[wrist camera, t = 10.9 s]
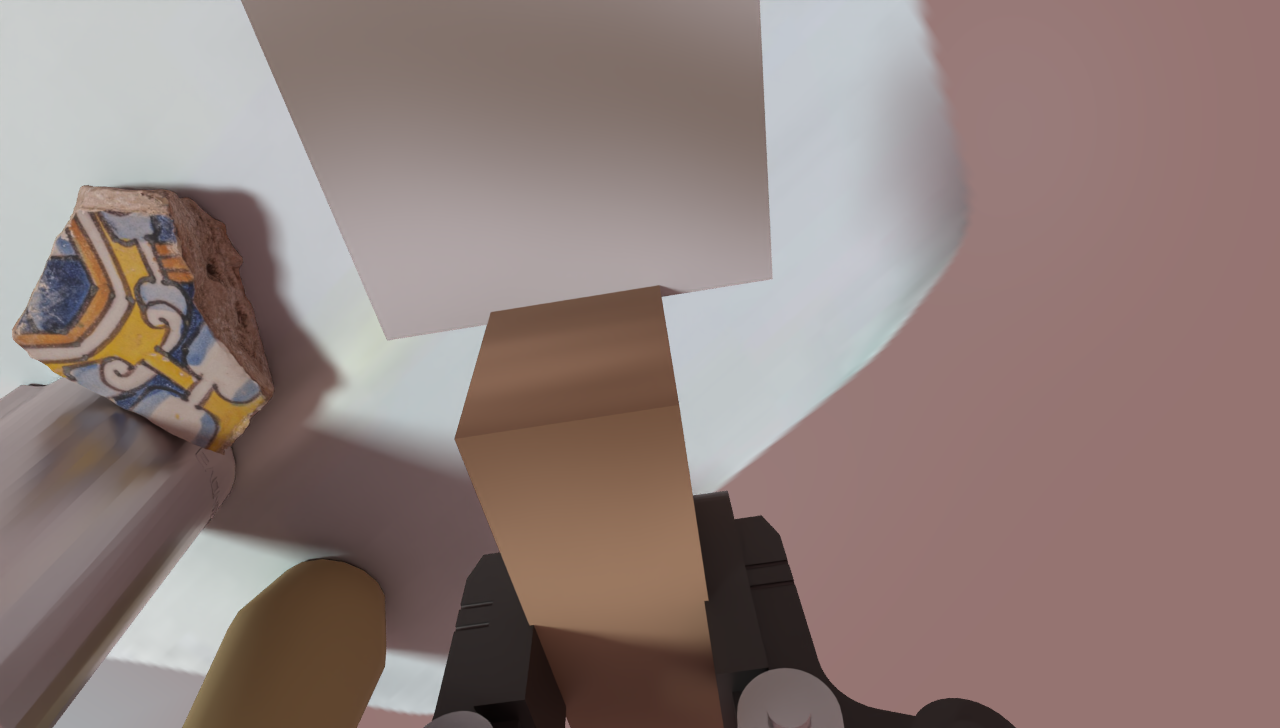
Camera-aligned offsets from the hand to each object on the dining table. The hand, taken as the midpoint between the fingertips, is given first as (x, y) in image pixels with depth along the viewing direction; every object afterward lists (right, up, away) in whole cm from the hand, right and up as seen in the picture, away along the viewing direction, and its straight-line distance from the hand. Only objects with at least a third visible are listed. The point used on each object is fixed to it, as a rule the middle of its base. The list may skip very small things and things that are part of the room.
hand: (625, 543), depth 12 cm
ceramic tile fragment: (-20, +6, +18) cm, 28 cm away
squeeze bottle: (-17, -10, +26) cm, 33 cm away
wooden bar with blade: (0, +2, 0) cm, 2 cm away
